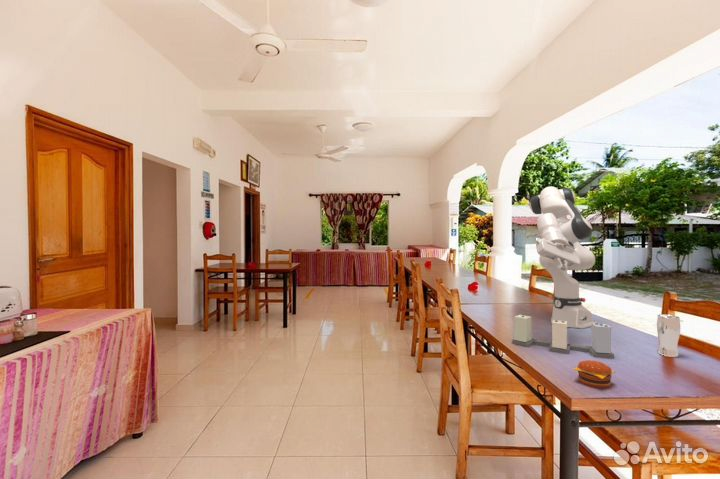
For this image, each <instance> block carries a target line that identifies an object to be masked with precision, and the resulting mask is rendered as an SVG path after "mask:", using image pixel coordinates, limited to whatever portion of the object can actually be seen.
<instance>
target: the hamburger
mask: <svg viewBox="0 0 720 479" xmlns="http://www.w3.org/2000/svg"><path fill="white" fill-rule="evenodd" d="M573 371H577V373H578V375H577V379H578V381H579V382H580V383H581V384H583V385H586V386H588V387H592V388H596V389H597V388H598V389H606V388H607V389H608V388H611V386H612V374H616V371H614V370H612V368H611V367H610V366H609V365H607V364H605V363H603V362H602V361H598V360H590V359H589V360H581V361H579V363H578V364H577V366H576V367H575V368H573Z"/></svg>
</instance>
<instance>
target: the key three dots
mask: <svg viewBox="0 0 720 479" xmlns="http://www.w3.org/2000/svg"><path fill="white" fill-rule="evenodd" d="M591 346H592V349H593V350H594V351H595V352H598V353H611V352H612V327H611V326H610V325H608V324H606V323H598V322H597V323H592V326H591Z"/></svg>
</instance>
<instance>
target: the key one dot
mask: <svg viewBox="0 0 720 479" xmlns="http://www.w3.org/2000/svg"><path fill="white" fill-rule="evenodd" d="M513 318H514V320H513V321H514V323H513V324H514V325H513V326H514V327H513V328H514V329H513V330H514V333H513V334H514V336H513V339H514V340H518V341H523V342H528V341H530V340H531V338H532V316H529V315H523V314H518V315H515V316H514V317H513Z"/></svg>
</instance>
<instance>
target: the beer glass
mask: <svg viewBox="0 0 720 479" xmlns="http://www.w3.org/2000/svg"><path fill="white" fill-rule="evenodd" d="M656 331H657V336H658V343H659V344H658V345H659V346H658V349H657V350H658V351H657V353H658V355H660V354H661V355H660V356H663V355H664V356H663V357H670V358H678V357H679V351H678V343H679V341H680V340H679V339H680V335H681V318H680V316H677V315H672V314H665V313H664V314H662V313H661V314H657V319H656Z"/></svg>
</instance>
